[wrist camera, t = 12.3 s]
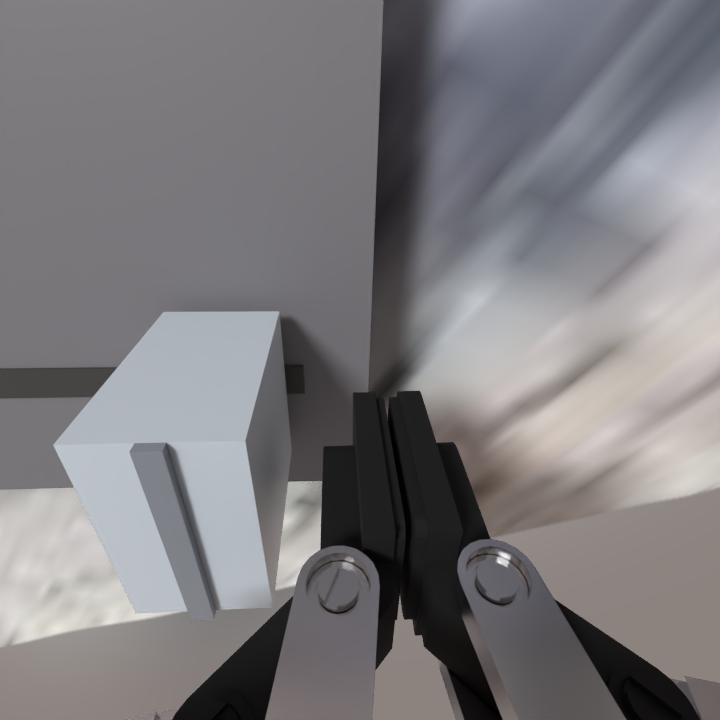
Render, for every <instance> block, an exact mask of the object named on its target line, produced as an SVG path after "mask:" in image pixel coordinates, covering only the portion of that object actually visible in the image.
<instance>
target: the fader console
mask: <svg viewBox="0 0 720 720" xmlns="http://www.w3.org/2000/svg"><path fill="white" fill-rule="evenodd" d="M382 25H383V0H0V490H1V489H37V488H73V484H72V482H71V480H70V478H69V476H68V474H67V472H66V470H65V468H64V466H63V464H62V462H61V460H60V458H59V456H58V454H57V452H56V450H55V448H54V446H53V445H54V443H55V442H56V441H57V440H58V438H59V437H60V436H61V435H62V434H63V432H64V431H65V430H66V429H67V428H68V426H69V425H70V424H71V423H72V422H73V420H74V419H75V418H76V417H77V416H78V414H79V413H80V412H81V411H82V410H83V408H84V407H85V406H86V405H87V404H88V402H89V401H90V400H91V399H92V398H93V396H94V395H95V394H96V393H97V392H98V390H99V389H100V388H101V387H102V385H103V384H104V383H105V382H106V381H107V379H108V378H109V377H110V376H111V375H112V373H113V372H114V371H115V370H116V369H117V367H118V366H119V365H120V364H121V363H122V361H123V360H124V359H125V358H126V357H127V355H128V354H129V353H130V352H131V351H132V349H133V348H134V347H135V346H136V345H137V343H138V342H139V341H140V340H141V339H142V337H143V336H144V335H145V334H146V332H147V331H148V330H149V329H150V328H151V326H152V325H153V324H154V323H155V322H156V320H157V319H158V318H159V317H160V316H161V314H162V313H163V312H248V311H279V312H280V323H281V335H282V346H283V357H284V369H285V380H286V391H287V403H288V414H289V426H290V437H291V448H292V452H291V460H290V469H289V477H288V482H289V481H322V479H323V448H324V446H349V445H353V392H368V386H369V360H370V334H371V308H372V283H373V257H374V231H375V206H376V180H377V154H378V128H379V103H380V77H381V51H382Z"/></svg>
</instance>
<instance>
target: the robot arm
mask: <svg viewBox="0 0 720 720" xmlns="http://www.w3.org/2000/svg"><path fill="white" fill-rule="evenodd" d="M399 595H400V597H401V605H402V612H403V617H404V619H412V620H413V626H414V632H415V635H422V637H423V643H424V647H425V648H426V649H428V650H429V651H430V652H431V653H432V654H433V655H434V656H436V657H437V658H438V663H439V668H440V672H441V675H442V678H443V681H444V684H445V688H446V691H447V693H448V697H449V700H450V703H451V706H452V709H453V712H454V716H455V719H456V720H720V683H716V682H711V681H706V680H701V679H696V678H691V677H687V676H684V677H683V678H682V679H681V680H680V681H679V680H674V679H670V678H668V677H667V676H666V675H665V674H663V673H662V672H661V671H660V670H658V669H657V668H656V667H654V666H653V665H651V664H650V663H648V662H647V661H645V660H644V659H642V658H641V657H639V656H638V655H636V654H635V653H633V652H632V651H630V650H629V649H627V648H626V647H624V646H623V645H622V644H620V643H619V642H617V641H615V640H614V639H613V638H611V637H610V636H608V635H607V634H605V633H604V632H602V631H601V630H599V629H598V628H596V627H595V626H593V625H592V624H590V623H589V622H587V621H586V620H584V619H583V618H581V617H580V616H578V615H577V614H575V613H574V612H572V611H571V610H569V609H568V608H567V607H565V606H563V605H562V604H561V603H559V602H558V601H556V600H555V599H554V598H553V597H552V595H551V593H550V592H549V590H548V588H547V587H546V585H545V583H544V582H543V580H542V578H541V577H540V575H539V573H538V572H537V570H536V568H535V567H534V566H533V564H532V563H531V562H530V560H529V559H528V558H527V557H526V556H525V555H524V554H523V553H522V552H520V551H519V550H518V549H517V548H515V547H512V546H511V545H509V544H507V543H505V542H502V541H497V540H493V539H490V537H489V534H488V531H487V528H486V526H485V523H484V520H483V518H482V515H481V512H480V509H479V507H478V504H477V501H476V498H475V496H474V493H473V490H472V487H471V485H470V482H469V479H468V477H467V474H466V471H465V468H464V466H463V463H462V460H461V457H460V455H459V452H458V449H457V447H456V445H455V444H454V443H453V442H448V443H436V440H435V437H434V434H433V431H432V427H431V424H430V421H429V418H428V414H427V411H426V408H425V405H424V401H423V398H422V395H421V392H420V391H398V392H397V397H390V398H389V408H388V421H387V415H386V409H385V404H384V398H376V396H375V392H353V445H349V446H324V448H323V479H322V515H321V550H319V551H318V552H317V553H315V554H314V555H312V556H311V557H310V558H309V559H308V560H307V562H306V563H305V564H304V565H303V567H302V569H301V571H300V574H299V576H298V579H297V583H296V587H295V592H294V596H293V597H292V598H291V599H290V600H289V601H288V602H287V603H285V605H283V606H282V607H281V608H280V609H279V610H278V611H277V612H276V613H275V614H274V615H273V616H272V617H271V618H270V619H269V620H268V621H267V622H266V623H265V624H264V625H263V626H262V627H261V628H260V629H259V630H258V631H257V632H256V633H255V634H254V635H253V636H251V637H250V638H249V639H248V640H247V641H246V642H245V643H244V644H243V645H242V646H241V647H240V648H239V649H238V650H237V651H236V652H235V653H234V654H233V655H232V656H231V657H230V658H229V659H228V660H227V661H226V662H225V663H224V664H223V665H222V666H221V667H220V668H219V669H218V670H216V671H215V672H214V673H213V674H212V675H211V676H210V677H209V678H208V679H207V680H206V681H205V682H204V683H203V684H202V685H201V686H200V687H199V688H198V689H197V690H196V691H195V692H194V693H193V694H192V695H191V696H190V697H189V698H188V699H187V700H186V701H185V703H184V704H183V705H182V706H180V707H177V708H174V709H171V710H168V711H165V712H162V713H159V714H158V713H157V712H156V710H152V711H149V712H146V713H143V714H140V715H137V716H134V717H132V718H128V719H125V720H373V703H374V685H375V684H374V683H375V670H376V669H377V668H378V666H379V665H380V664H381V662H382V661H383V660H384V658H385V657H386V656H387V654H388V653H389V652H390V650H391V649H392V643H393V634H394V624H395V620H397V613H398V604H399Z"/></svg>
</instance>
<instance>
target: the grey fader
mask: <svg viewBox="0 0 720 720" xmlns="http://www.w3.org/2000/svg"><path fill="white" fill-rule="evenodd" d="M53 446H54V448H55V450H56V452H57V454H58V456H59V458H60V460H61V462H62V464H63V466H64V468H65V470H66V472H67V474H68V476H69V478H70V480H71V482H72V484H73V487H74V489H75V491H76V493H77V495H78V497H79V499H80V501H81V503H82V505H83V507H84V509H85V511H86V513H87V515H88V517H89V519H90V521H91V523H92V525H93V527H94V529H95V531H96V533H97V535H98V537H99V539H100V542H101V544H102V546H103V548H104V550H105V552H106V554H107V556H108V558H109V560H110V562H111V564H112V566H113V568H114V570H115V572H116V574H117V576H118V578H119V580H120V582H121V584H122V586H123V588H124V590H125V592H126V594H127V597H128V599H129V601H130V603H131V605H132V607H133V609H134V611H135V613H157V612H179V611H188V614H189V616H190V619H191V620H208V619H214V618H215V613H216V610H220V609H221V610H223V609H245V608H266V607H273V601H274V593H275V584H276V576H277V568H278V560H279V551H280V543H281V535H282V526H283V518H284V510H285V502H286V493H287V485H288V477H289V469H290V460H291V452H292V448H291V437H290V426H289V414H288V403H287V391H286V380H285V369H284V357H283V346H282V335H281V323H280V312H279V311H248V312H163V313H162V314H161V316H160V317H159V318H158V319H157V320H156V322H155V323H154V324H153V325H152V326H151V328H150V329H149V330H148V331H147V332H146V334H145V335H144V336H143V337H142V339H141V340H140V341H139V342H138V343H137V345H136V346H135V347H134V348H133V349H132V351H131V352H130V353H129V354H128V355H127V357H126V358H125V359H124V360H123V361H122V363H121V364H120V365H119V366H118V367H117V369H116V370H115V371H114V372H113V373H112V375H111V376H110V377H109V378H108V379H107V381H106V382H105V383H104V384H103V385H102V387H101V388H100V389H99V390H98V392H97V393H96V394H95V395H94V396H93V398H92V399H91V400H90V401H89V402H88V404H87V405H86V406H85V407H84V408H83V410H82V411H81V412H80V413H79V414H78V416H77V417H76V418H75V419H74V420H73V422H72V423H71V424H70V425H69V426H68V428H67V429H66V430H65V431H64V432H63V434H62V435H61V436H60V437H59V438H58V440H57V441H56V442H55V443H54V445H53Z"/></svg>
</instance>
